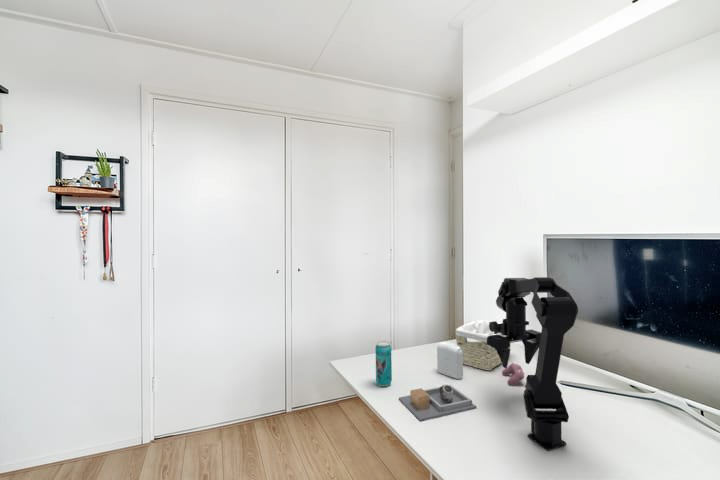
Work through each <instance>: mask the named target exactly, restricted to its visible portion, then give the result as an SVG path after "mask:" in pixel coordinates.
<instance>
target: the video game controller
mask: <svg viewBox="0 0 720 480" xmlns="http://www.w3.org/2000/svg"><path fill="white" fill-rule="evenodd" d="M501 374H502V376H503V377H504V376H505V377H506V376H509V375H510V377H509V378H508V379H507V385H508V386H516V385H517V384H518V383H520V382H521V381H523V380H524V378H525V372H524V370H523V368H522V366H521V365H520V364H517V363H514V362H513V363H511V364H508V365H507V368H504V369H503V370H502V372H501Z"/></svg>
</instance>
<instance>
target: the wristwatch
mask: <svg viewBox="0 0 720 480" xmlns="http://www.w3.org/2000/svg"><path fill="white" fill-rule="evenodd" d="M449 385H450V384H443V385H441V386H439V387H440V388H439V392H440V395H441V398H442V399H443V400H444V401H445V402H446V403H452V401H453V389H452V388H451V386H452V385H451V386H449ZM444 393H445V394H446V395H447V397H448V398H447V397H446V395H445V394H444Z"/></svg>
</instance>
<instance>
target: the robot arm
mask: <svg viewBox="0 0 720 480" xmlns="http://www.w3.org/2000/svg"><path fill="white" fill-rule="evenodd" d="M497 293H498V296H497V298H496V300H495V304H496V306H497V308H498V309H500V310H502V311H503V312H504V313H505V318H503V319H502V322H500V323H501V324H498V323H497V322H498V321H497V320H496V321H494V320H493V321H494V322H489V331H490V332H494V334H497V333H502V335H506V336H507V337H503V336H500V335H490V336H488V337H487V344H488V345H490V346H491V347H493V348H495V349H496V351H497V353H498V355H499V357H500V360H501V363H500V364H501V365H502V367H503V368H504V369H505V368H507V367H508V366H509V360H510V356H509V355H510V354H511V348H510V349H509V346H510V343H512V344H513V343H518V342H522V344H523V347H524V361H525V364H527V365H529V364H530V363H531V361H532V360H533V358H534V356H535V354H536V353H537V352H538V353H537V354H538V355H537V358H536V366H535V373H534V374H527V376H526V381H525V385H524V388H525V389H524V390H523V400H524V401H523V402H524V409H525V413H526V417H527V418H529V419H530V423H531V424H530V427H531V428H530V432H531V433H530V432H529V433H528V434H527V437H528V438H529V439H531V440H532V441H534V442H535V443H536V444H538V445H540V446H541V447H542V448H544V449H545V450H547V451H550V450H554V449H557V448H560V447H564V446H566V445H567V442H566V441H565V440H563V439H562V422H563V423H568V422H569V418H570V416H569V413H568V410H567V407H566V405H565V401H564V400H563V397H562V396H563V395H562V394H563V393H562V391H561V389H560V387H559V385H558V384H557V379H558V374H559V373H558V372H559V367H560V361H561V355H562V352H563V351H562V350H563V344H564V340H565V334H566V333H567V332H569V331H570V330H571V329H572V328H573V327H574V325H575V323H576V319H577V316H578V314H579V308H578V304H577V303H576V301H575V300H574V298H573V297H572V295H571V294H570V292H568V291H567V290H566V289H564V288H563V287H561V286H559V285H558V284H557V283H556V281H555V279H554V278H551V277H550V276H549V277H547V276H544V277H541V276H540V277H539V276H537V277H534V278H526V277H505V278H504V279H503V281H502V282H501V285H500V287H499V289H498V290H497ZM531 293H532V295H533V296H532V299H531V305H532V307H533V308H534V312H535V314H536V315H535V316H536V319H537V321H538V322H539V324H540V326H541V331H538V330H534V329H527V328H526V327H527V326H530V321H528V320H527V315H526V313H527V312H526V311H527V310H526V309H527V307H526V306H528V302H527V301H526V300H525V298H526V296H528V295H530V294H531ZM539 293H540V294H541V293H546V294H547V293H550V295H551V296H550V297H549V296H546V297H545V296H542V297H539Z"/></svg>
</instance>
